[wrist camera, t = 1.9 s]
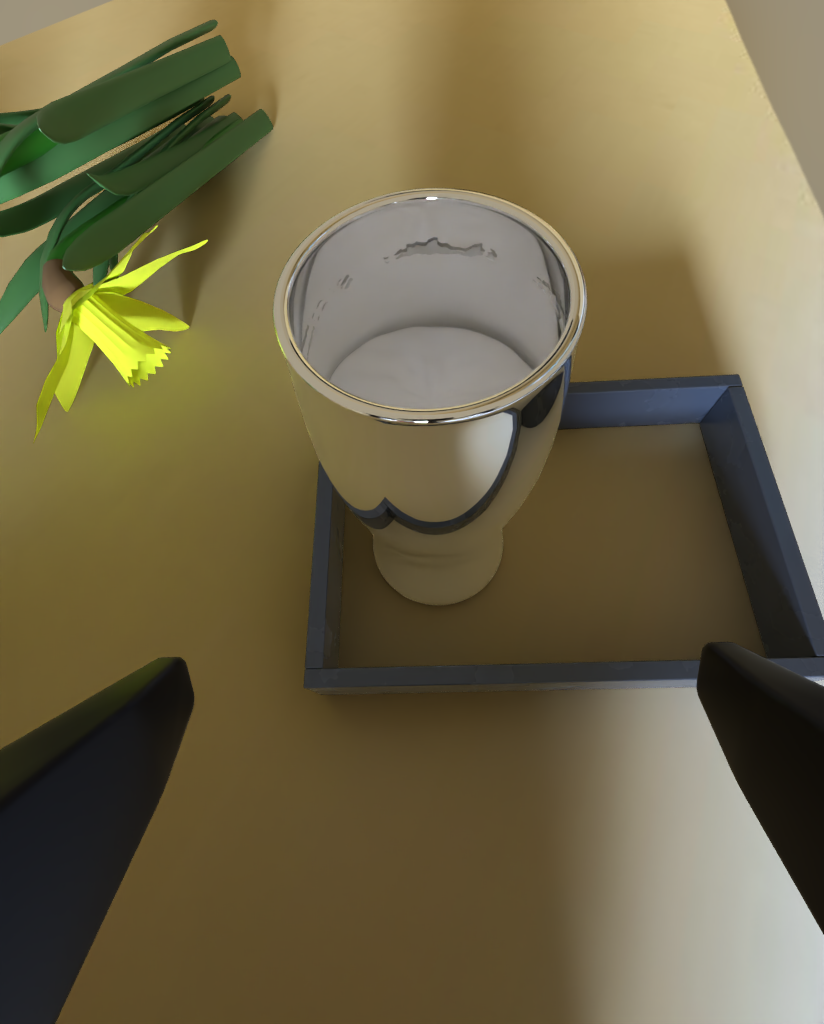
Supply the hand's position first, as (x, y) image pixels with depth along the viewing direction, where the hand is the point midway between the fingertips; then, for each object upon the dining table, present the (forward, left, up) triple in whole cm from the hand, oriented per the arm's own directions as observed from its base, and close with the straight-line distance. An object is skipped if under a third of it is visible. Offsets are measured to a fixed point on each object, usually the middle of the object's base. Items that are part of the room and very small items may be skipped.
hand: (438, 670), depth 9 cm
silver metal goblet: (+6, -4, -14) cm, 16 cm away
